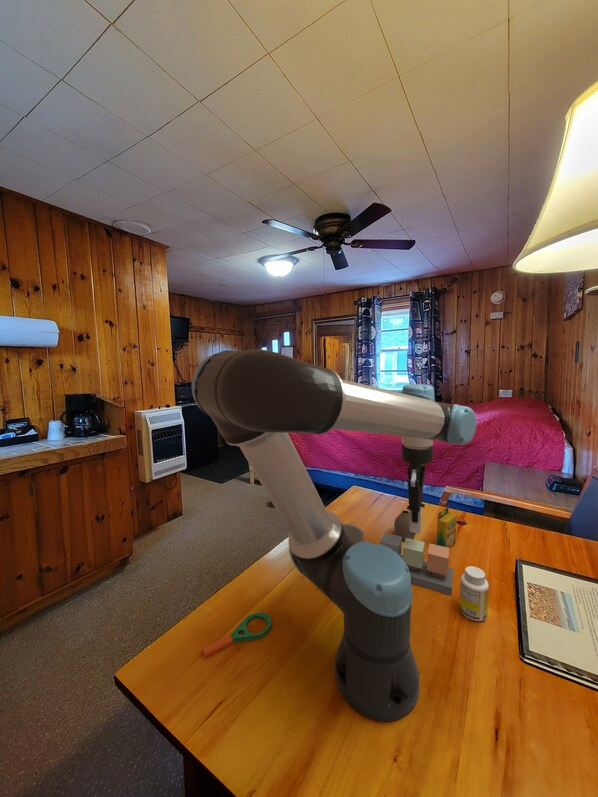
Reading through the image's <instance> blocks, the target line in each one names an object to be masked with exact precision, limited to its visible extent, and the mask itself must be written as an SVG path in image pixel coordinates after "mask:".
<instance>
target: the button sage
mask: <svg viewBox="0 0 598 797" xmlns="http://www.w3.org/2000/svg"><path fill="white" fill-rule="evenodd" d="M425 543H426V542H425V541H420V540H418V539H414V538H413V539H409V538H406V540H405V541H404V543H403V546H402V555H403V560H404V562H405V563H406V565H410V566H413V567H417V568H421V569H422V566H423V562H424V561H425V549H426V548H425V545H426V544H425Z"/></svg>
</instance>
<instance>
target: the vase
mask: <svg viewBox="0 0 598 797" xmlns="http://www.w3.org/2000/svg"><path fill="white" fill-rule="evenodd" d="M393 531H394V533H395V535H396V536H400V537H402V541H404V542H405V540H406V538H409V539H413V540H414V538H415V536H416V534H417V533H414V532H410V510H408V509H404V510H401V512H400V514H398V515H397V517H396V518H395V520H394V523H393Z"/></svg>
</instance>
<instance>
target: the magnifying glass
mask: <svg viewBox="0 0 598 797" xmlns="http://www.w3.org/2000/svg"><path fill="white" fill-rule="evenodd" d="M256 619H261V620H263V621H264V622H266V627H265V629H264V630H262V631H260V632H257V633H253V632H250V631H248V629H247V626H248V623H250V622H251V621H252V620H256ZM271 628H272V618H271V616H270V615H269V614H267V613H265V612H254V613H251V614H249V615H248V616H246V617H245V618H244V619H243V620H242V622H240V624H239V625H238V626H237V627H236V628H235V629H234V630H233V631H232V632H231V633H230V634H229V635H226V636H224V637H223V638H221V639H218V640H216V641H214V642H213V643H210V644H208V645H206V646H204V647H202V649H201V652H202V656H203V658H204V659H207V658H209V657H212V656H214V655H215V654H216V653H218V652H221V651H222V650H224V649H226V648H227V647H230V646H232V645H233V644H236V643H240V642H246V641H252V640H258V639H261V638H263V637H264V636H266V635H268V633H269V632H270V631H271ZM241 633H243V634H241Z"/></svg>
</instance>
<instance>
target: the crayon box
mask: <svg viewBox="0 0 598 797" xmlns="http://www.w3.org/2000/svg"><path fill="white" fill-rule="evenodd" d="M449 508H450V506H447V507H445V508H444V509H443V510H441V511H440V512H438V513H437V518H436V519H437V520H436V521H437V522H436V538H435V540H436V541H435V545H439V546H443V547H447V548H449V550H450V549H451V548H453V546H454V545H455V544H456V536H457V535H456V534H457V519H458V518H457V517H458V515H457V514H456V513H453V512H450V511H449Z"/></svg>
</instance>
